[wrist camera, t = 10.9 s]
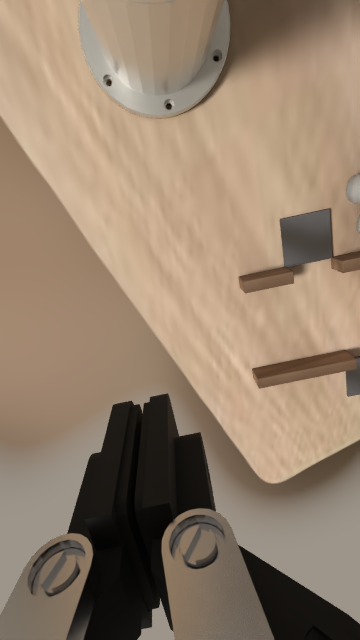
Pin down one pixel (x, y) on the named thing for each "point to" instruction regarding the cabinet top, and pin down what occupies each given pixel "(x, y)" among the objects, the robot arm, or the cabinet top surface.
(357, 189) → the toy rhinoceros
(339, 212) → the cabinet top surface
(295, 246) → the trap lane
